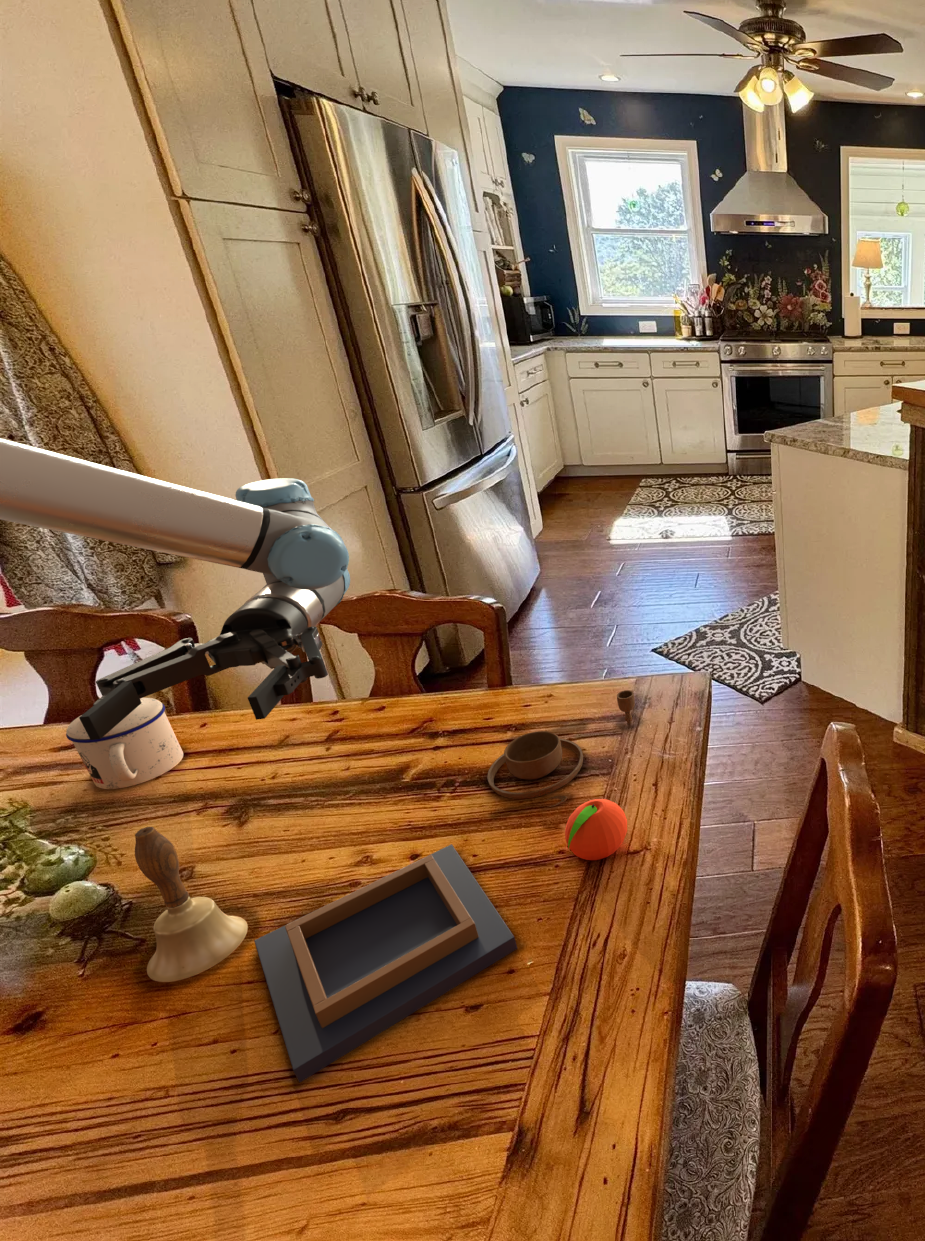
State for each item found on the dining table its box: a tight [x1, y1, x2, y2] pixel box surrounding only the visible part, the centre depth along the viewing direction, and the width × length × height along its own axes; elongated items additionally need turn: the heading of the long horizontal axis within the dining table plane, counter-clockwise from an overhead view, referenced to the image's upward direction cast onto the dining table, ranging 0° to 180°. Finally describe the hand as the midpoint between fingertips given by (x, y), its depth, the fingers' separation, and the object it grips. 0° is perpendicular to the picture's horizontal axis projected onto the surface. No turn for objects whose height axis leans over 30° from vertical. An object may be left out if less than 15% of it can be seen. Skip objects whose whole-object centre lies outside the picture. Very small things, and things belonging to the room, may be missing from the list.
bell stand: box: [254, 843, 518, 1083], centre depth 71 cm, size 18×18×4 cm
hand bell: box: [134, 826, 249, 983], centre depth 68 cm, size 8×8×16 cm
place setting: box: [487, 689, 636, 808], centre depth 98 cm, size 18×20×6 cm
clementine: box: [564, 798, 628, 861], centre depth 84 cm, size 8×7×7 cm
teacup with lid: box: [65, 697, 184, 790], centre depth 92 cm, size 12×9×12 cm
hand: (174, 718), depth 71 cm, fingers open, 13 cm apart
